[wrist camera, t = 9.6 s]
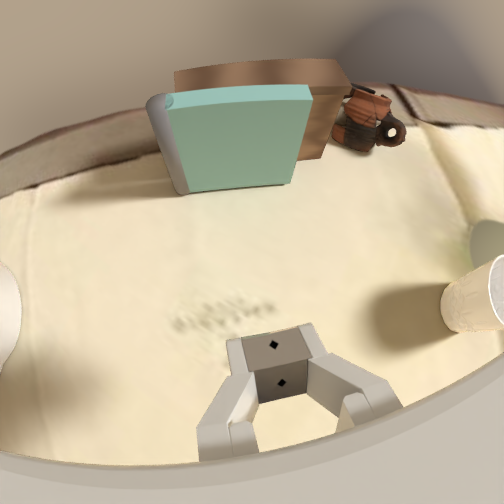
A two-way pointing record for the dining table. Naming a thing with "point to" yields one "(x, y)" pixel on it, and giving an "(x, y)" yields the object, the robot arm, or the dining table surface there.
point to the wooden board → (282, 73)
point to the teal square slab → (230, 135)
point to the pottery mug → (368, 121)
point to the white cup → (476, 299)
